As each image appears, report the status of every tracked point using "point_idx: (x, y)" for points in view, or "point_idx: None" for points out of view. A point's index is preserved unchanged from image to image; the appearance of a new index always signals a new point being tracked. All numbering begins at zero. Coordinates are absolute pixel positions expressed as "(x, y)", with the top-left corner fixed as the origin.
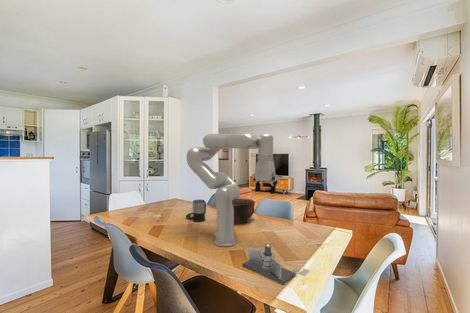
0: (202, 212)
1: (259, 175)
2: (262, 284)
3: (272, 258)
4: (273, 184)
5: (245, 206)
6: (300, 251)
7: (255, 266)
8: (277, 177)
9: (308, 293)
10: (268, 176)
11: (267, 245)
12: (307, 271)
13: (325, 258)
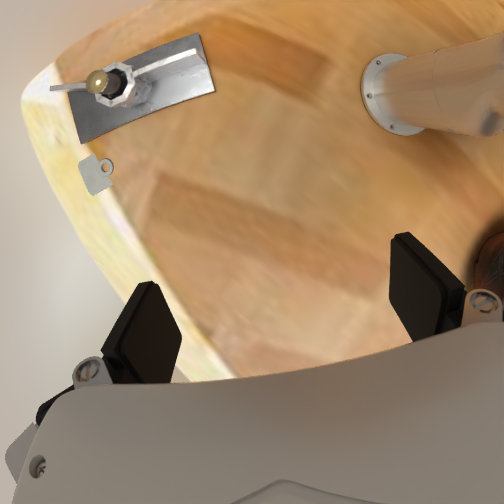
0: None
1: (424, 499)
2: (95, 48)
3: (82, 83)
4: (74, 377)
5: (501, 292)
6: (191, 259)
7: (158, 59)
8: (13, 463)
9: (34, 127)
10: (34, 478)
11: (90, 76)
12: (89, 186)
13: (128, 280)
